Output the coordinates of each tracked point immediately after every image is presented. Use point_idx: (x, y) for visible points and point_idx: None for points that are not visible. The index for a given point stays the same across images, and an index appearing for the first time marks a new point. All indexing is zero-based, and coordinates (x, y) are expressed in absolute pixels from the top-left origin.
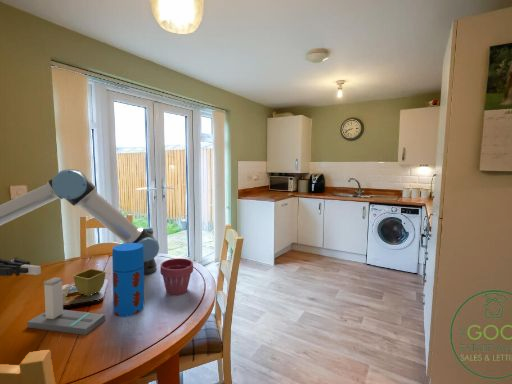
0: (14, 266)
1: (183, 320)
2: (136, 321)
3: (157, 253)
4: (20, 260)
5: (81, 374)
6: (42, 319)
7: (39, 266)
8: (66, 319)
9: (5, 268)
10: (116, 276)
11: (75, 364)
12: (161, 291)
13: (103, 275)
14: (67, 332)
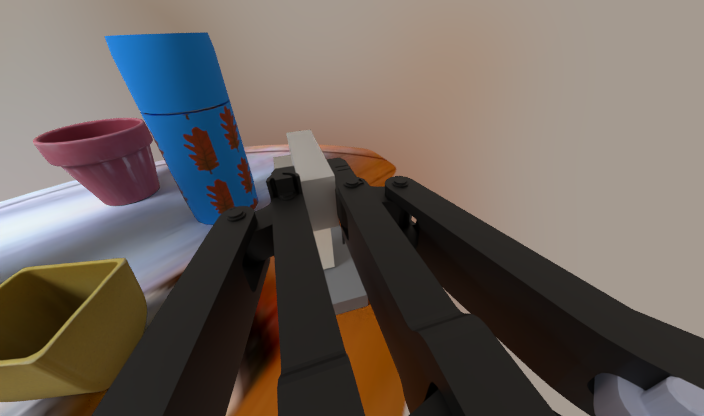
0: (361, 196)
1: (250, 153)
2: (266, 180)
3: None
4: (169, 343)
5: (380, 161)
6: (340, 272)
7: (293, 132)
8: None
9: (428, 195)
10: (230, 116)
11: (375, 172)
12: (131, 209)
13: (47, 276)
14: None
